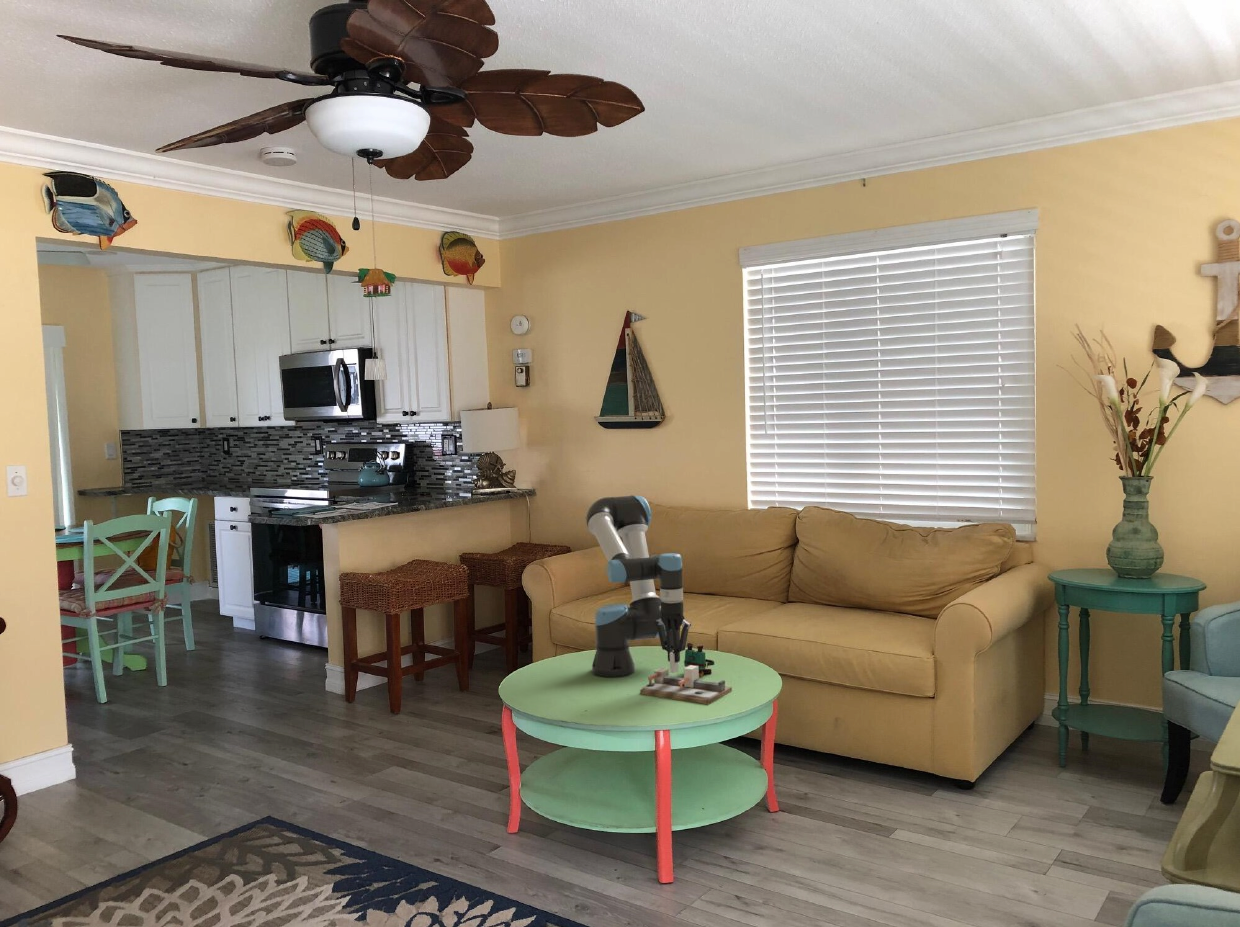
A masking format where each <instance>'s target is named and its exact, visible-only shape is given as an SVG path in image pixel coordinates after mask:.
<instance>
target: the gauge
mask: <svg viewBox="0 0 1240 927" xmlns="http://www.w3.org/2000/svg"><path fill="white" fill-rule="evenodd" d="M669 674H670V671H669V668H663V667H659V668H658V669H655V670H653V675H651V676H648V677H647V680H648V684H646V685H645V686H643V687H642V688H641V689H639V690H640V692H639V693H640V694H641V695H645V696H646V695H647V696H655V697H658V698H664V699H665V698H666V699H673V700H679V701H686V702H691V703H696V704H697V703H698V704H705V705H710V704H712V703H714V702H715V701H717V700H719V699H720V698H722V697H724V696H725V695H727V694H729V693H731V692H732V691H733V689H732V688H733V687H732V686H726V680H723V679H722V680H720V681H718V682H715V681H714V682H713V681H707V680H700V679H699V680H695V681H693V685H694V687H693V688H690V687H684V684H682V689H680V684H679V681H681V680H683V679H684V677H679V676H672V675H669ZM652 680H653V681H652Z"/></svg>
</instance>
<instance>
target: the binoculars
mask: <svg viewBox="0 0 1240 927" xmlns="http://www.w3.org/2000/svg"><path fill="white" fill-rule="evenodd" d="M686 647H687V648H685V650H684V652H685V654H684V660H683V665H684V668H686V667H688V666H690V665H693V666H698V667H699V677H702V676H704V674H712V669H711V668H709V667H711V666H714V665H715V661H714V660H711V659H706V652H705V651H703V650H704V645H699V646H696V649H697V650H695V649H693V647H694V644H693V643H691V642H686Z"/></svg>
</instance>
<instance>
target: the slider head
mask: <svg viewBox="0 0 1240 927" xmlns="http://www.w3.org/2000/svg"><path fill="white" fill-rule="evenodd" d="M683 678H684V679H683V680H681V681H679V684H680V689H682V684H684V687H690V688H693V687H694V685H693V681H695V680H700V676H699V667H698V666H693V665H690V666H688V667H684V668H683Z"/></svg>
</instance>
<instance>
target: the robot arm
mask: <svg viewBox="0 0 1240 927" xmlns="http://www.w3.org/2000/svg"><path fill="white" fill-rule="evenodd" d="M651 515H652V512H651V507H650V505H649V502H648V500H647V499H646V498H645V497H644V496H642V495H627V496H608V497H607V496H606V497H601V498H600V499H597V500H596V501H594V502H593V503H592V504H591V506H590V507H589V508H588V511H587V512H586V516H585V522H586V527H587V528H588V531H589V532H590V533H591V534H592V535H594V537H595V538H596V540H597V542H598V544H599V546H600V548H601V550H602V552H603V554H604V556H605V558H606V560H607V564H606V575H607V579H608V580H609V581H610V582H611V583H621V584H622V583H626V582H629V585H630V592H631V596H632V599H631V600H630V602H629V606H628V605H627V604H626V603H622V602H621V603H611V604H607V605H604V606H601V607H599V608H598V609H597V610H596V611H595V616H594V625H595V626H594V627H595V647H596V648H595V654H594V658H593V661H592V665H591V673H592V674H593V675H594V676H598V677H605V678H617V677H625V676H629V675H632V674H633V673H634V672H635V671H636V670H635V666H636V665H635V662H634V659H633V656H632V653H631V651H630V641H639V640H647V639H648V640H649V639H653V640H654V639H657V638H659V641H660V645H661V649H662V651H663V650H664V651H666V652H667V662H668V663H669V673H673V674H675V673H677V672H679V663H680V661H681V652H684V651H686V647H687V641H688V634H689V629H690V628H691V626H692V623H691V622H688V621H686V620H685V615H684V611H685V610H684V601H683V600H684V588H683V587H684V586H683V585H684V584H683V562H682V561H683V560H682V555H681V554H679V553H675V552H673V553H672V552H671V553H670V552H668V553H661V554H653V555H651V556H650V554H649V548H648V544H647V539H646V532H647V531H648V529H649V526H650V525H651V522H652V516H651ZM621 538H622V539H621ZM654 580H659V593H660V596H659V595H657V593H656V587H655V582H654ZM681 627H682V629H681Z"/></svg>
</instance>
